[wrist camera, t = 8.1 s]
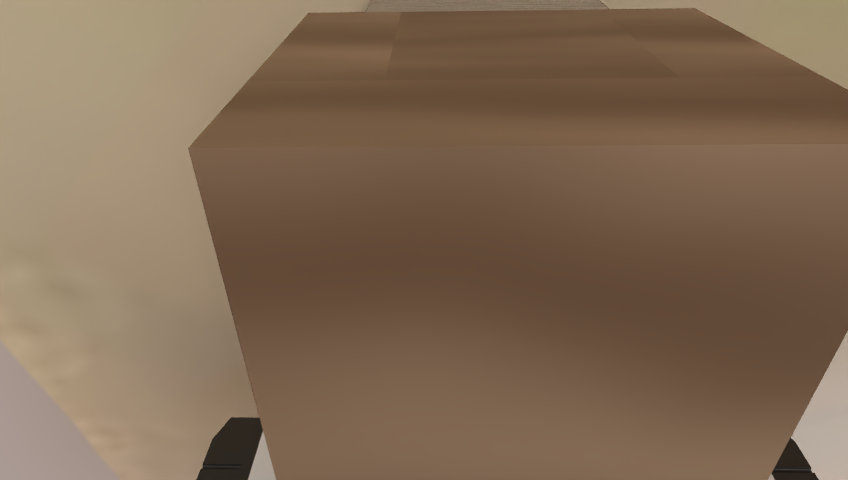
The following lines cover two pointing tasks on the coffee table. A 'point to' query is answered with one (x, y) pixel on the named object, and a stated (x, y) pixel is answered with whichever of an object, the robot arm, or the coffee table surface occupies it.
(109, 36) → the coffee table surface
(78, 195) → the coffee table surface
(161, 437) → the coffee table surface
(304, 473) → the wooden block
